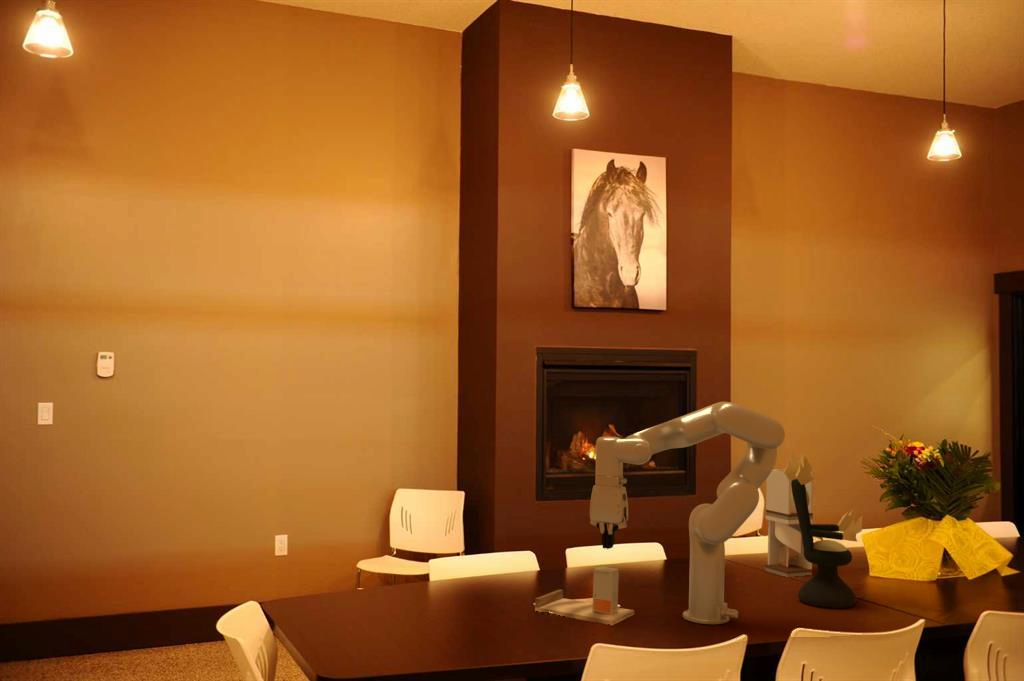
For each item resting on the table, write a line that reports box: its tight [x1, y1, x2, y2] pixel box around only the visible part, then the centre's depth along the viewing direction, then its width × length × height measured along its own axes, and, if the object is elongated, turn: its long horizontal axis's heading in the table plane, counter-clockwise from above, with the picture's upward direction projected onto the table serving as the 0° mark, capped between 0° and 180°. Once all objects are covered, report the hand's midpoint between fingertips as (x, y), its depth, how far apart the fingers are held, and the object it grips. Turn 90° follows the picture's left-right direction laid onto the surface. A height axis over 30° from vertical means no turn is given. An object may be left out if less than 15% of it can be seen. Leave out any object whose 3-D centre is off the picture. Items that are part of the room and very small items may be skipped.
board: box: [534, 589, 635, 626], centre depth 270 cm, size 24×14×4 cm, turn 58°
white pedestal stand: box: [764, 468, 814, 578], centre depth 332 cm, size 11×11×35 cm
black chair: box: [784, 451, 864, 609], centre depth 291 cm, size 19×22×45 cm
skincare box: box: [592, 566, 620, 615], centre depth 267 cm, size 6×4×12 cm
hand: (607, 547), depth 267 cm, fingers closed
